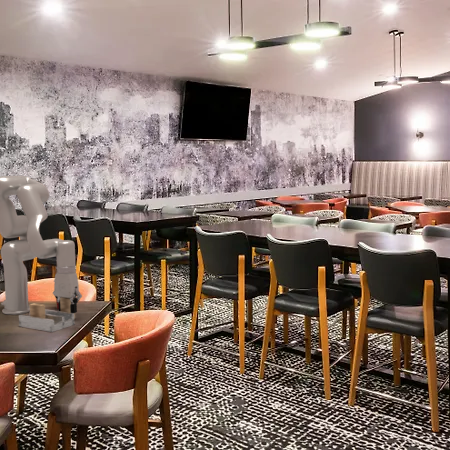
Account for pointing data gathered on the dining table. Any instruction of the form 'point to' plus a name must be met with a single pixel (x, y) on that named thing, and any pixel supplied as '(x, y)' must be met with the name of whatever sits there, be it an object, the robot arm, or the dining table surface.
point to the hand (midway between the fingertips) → (67, 311)
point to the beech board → (65, 305)
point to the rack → (48, 321)
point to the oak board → (37, 310)
